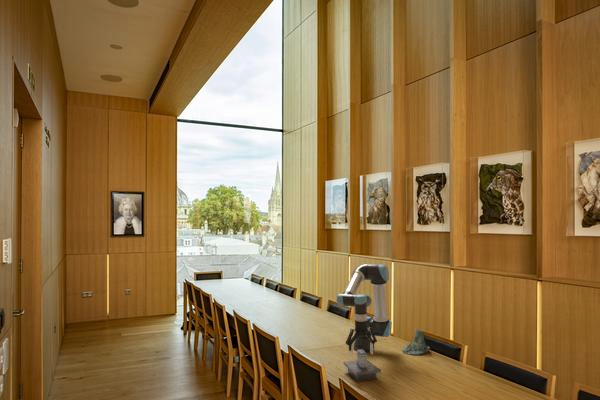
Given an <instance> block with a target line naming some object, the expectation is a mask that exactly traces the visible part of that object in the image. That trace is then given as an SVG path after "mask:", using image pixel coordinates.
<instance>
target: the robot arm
mask: <svg viewBox="0 0 600 400" xmlns="http://www.w3.org/2000/svg"><path fill="white" fill-rule="evenodd" d="M350 275H351V278H350V280H349V281H348V284H347V285H346V287H345V289H344V291H343V292H342V293H338V294H337V296H336V303H337V305H338V306H342V307H354V320H355V321H354V328H350V329H349V334H348V336H347V339H346V340H345V345H347V346H348V351H349V356H350V357H353V356H354V350H355V351H357V350H364V351H365V352H366V353H367V352H370V353H369V354H371V355H374V349H375V344H376V343H377V342H378V340H377V338H376V337H379V338H380V337H382V338H383V337H384V338H388V337H389V336H390V335H391V331H392V325H393V323H392V320H390V317H389V316H388V315H387V302H386V301H387V300H386V285H387V282H388V281H389V279H390V272H389V268H388V267H387V265H386V264H380V263H363V264H360V265H359V266H356V267H355V269H354V270H352V273H351V274H350ZM365 280H367V281H370V284H371V285H372V292H373V300H372V297H371V296H370V295H369V294H356V293H357V292H358V290H359V287H360V285H361V284H362V282H364V281H365ZM372 301H373V306H374V316H373V317H371V316H368V307H370V306H371V304H372Z"/></svg>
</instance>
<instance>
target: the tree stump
mask: <svg viewBox="0 0 600 400" xmlns="http://www.w3.org/2000/svg"><path fill="white" fill-rule="evenodd" d="M430 350H431V348H430V346H428V345H427V344H426V342H425V331H423V330H421V329H417V328H416V329H415V333H414V338H413V339H412V340H411V342H410V343H409V344H407V345H405V347H404V348H402V350H401V352H402V353H403V354H405V355H409V356H422V355H425V354H426V353H428V351H430Z"/></svg>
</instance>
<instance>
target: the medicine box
mask: <svg viewBox="0 0 600 400" xmlns="http://www.w3.org/2000/svg"><path fill="white" fill-rule="evenodd" d="M367 360H368V353H367V352H365V351H364V350H356V361H357V364H358V365H359V367H360V368H367Z"/></svg>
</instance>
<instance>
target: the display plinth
mask: <svg viewBox="0 0 600 400" xmlns="http://www.w3.org/2000/svg"><path fill="white" fill-rule="evenodd" d="M343 365H344V366H345V367H346V368H347V373H348V374H349V375H350V377H351V376H352V378H354V379H355V380H356V382H363V381H372V380H377V374H378V373H379V374H381V372H382V369H380V368H379V367H378V366H376V365H375V364H373V362H371V361H370V360H368V359H367V368H360V367H359V365H358V364H357V360H349V361H343Z"/></svg>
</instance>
